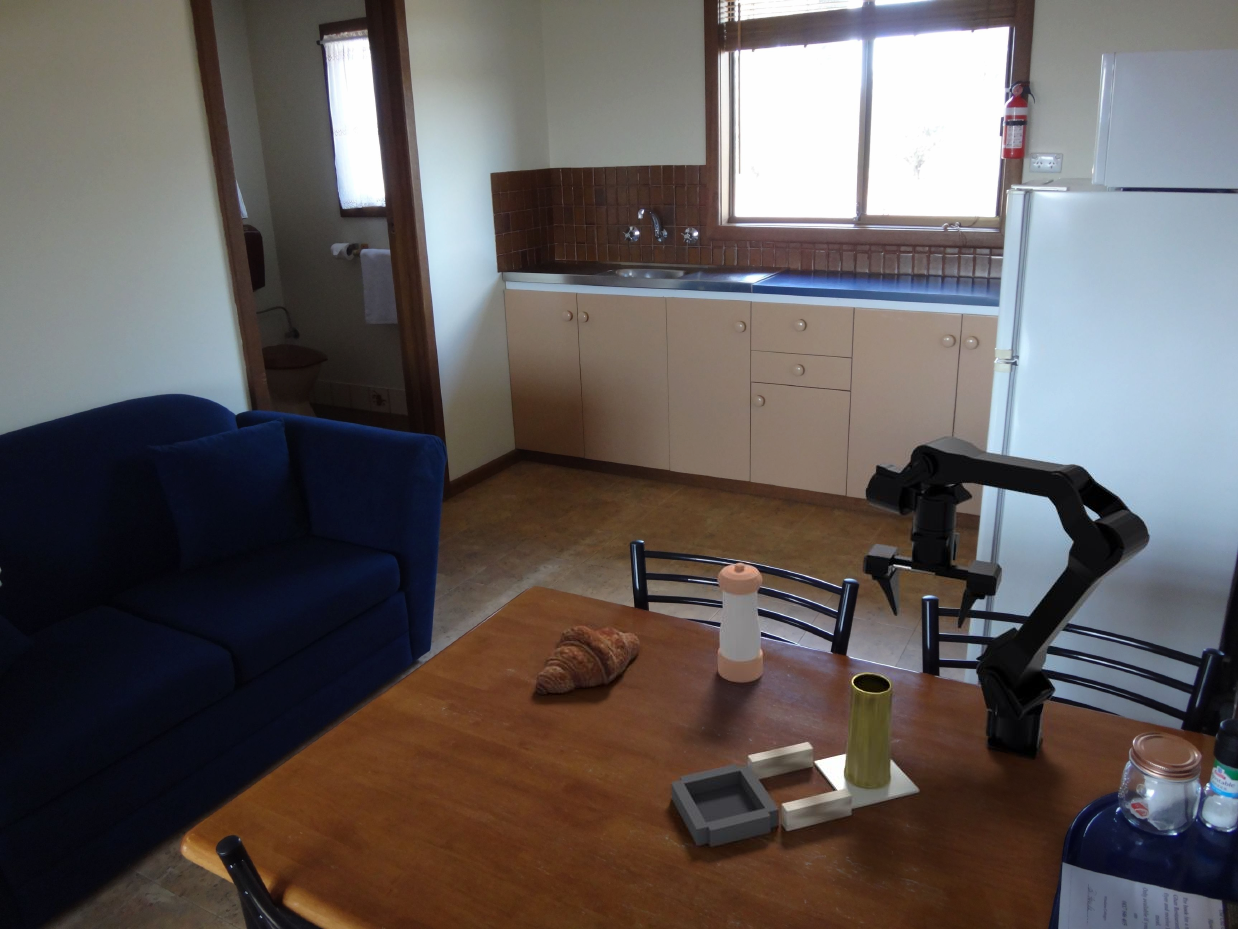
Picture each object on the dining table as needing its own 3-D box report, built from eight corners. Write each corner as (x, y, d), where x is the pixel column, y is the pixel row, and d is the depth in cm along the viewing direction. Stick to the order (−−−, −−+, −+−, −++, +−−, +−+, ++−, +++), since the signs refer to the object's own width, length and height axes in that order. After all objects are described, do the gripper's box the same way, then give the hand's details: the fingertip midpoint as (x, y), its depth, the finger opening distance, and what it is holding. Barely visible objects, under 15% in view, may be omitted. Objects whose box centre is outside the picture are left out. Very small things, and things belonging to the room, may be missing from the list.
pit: (746, 777, 129) (746, 761, 128) (781, 829, 119) (781, 813, 118) (669, 794, 126) (669, 779, 126) (699, 850, 116) (698, 833, 115)
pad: (878, 748, 134) (878, 746, 134) (919, 792, 125) (919, 789, 124) (814, 763, 131) (814, 761, 131) (850, 809, 122) (850, 806, 122)
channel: (807, 760, 132) (808, 742, 131) (851, 815, 121) (852, 795, 120) (747, 774, 130) (747, 755, 129) (786, 831, 119) (787, 811, 118)
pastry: (554, 643, 166) (551, 603, 164) (641, 646, 164) (640, 604, 162) (534, 697, 151) (530, 653, 148) (630, 700, 149) (628, 655, 146)
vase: (892, 792, 124) (897, 697, 120) (843, 787, 126) (847, 694, 121) (889, 763, 130) (894, 672, 125) (843, 759, 131) (846, 668, 127)
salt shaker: (765, 682, 151) (766, 573, 145) (719, 683, 151) (718, 574, 145) (759, 658, 158) (760, 553, 152) (716, 659, 158) (714, 555, 152)
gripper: (1012, 514, 138) (1003, 610, 143) (884, 496, 147) (879, 587, 152) (999, 542, 129) (990, 643, 134) (863, 521, 138) (859, 617, 143)
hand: (927, 620), depth 141 cm, fingers open, 9 cm apart
